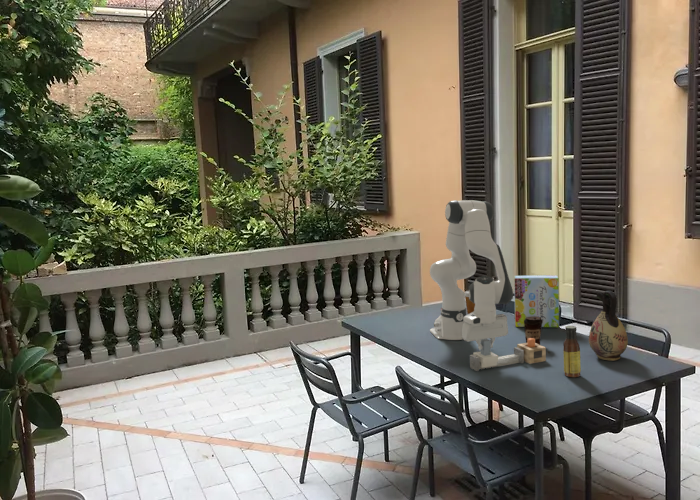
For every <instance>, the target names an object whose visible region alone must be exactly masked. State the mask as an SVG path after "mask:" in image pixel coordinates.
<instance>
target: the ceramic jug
mask: <svg viewBox="0 0 700 500" xmlns="http://www.w3.org/2000/svg"><path fill="white" fill-rule="evenodd" d="M596 298H597V299H599V300H600V301H601V302H602V309H601V311H600V313H599V314H598V315H597V316H596V319H595V320H594V321H593V323H592V325H591V327H590V330H589V332H588V333H589V334H588V343H589V344H588V345H589V347H590V348H591V350H592V351H593V352H594V353H595V355H596V357H597V358H598V359H600V360H603V361H604V360H605V361H618V360H620V359H621V355H622V354H623V353H624V352H625V351H626V350H627V348H628V342H629V340H628V334H627V329H625V326H624V324H623V323H622V321H621V320H620V319H619V317H618V316H617V315H616V312H617V305H618V303H617V302H618V301H617V299H618V298H617V295H616V294H615V292H613V290H605V291H604V293H603V292H601V291H598V292H597V293H596Z"/></svg>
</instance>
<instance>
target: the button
mask: <svg viewBox="0 0 700 500" xmlns="http://www.w3.org/2000/svg"><path fill="white" fill-rule="evenodd" d="M527 347H530V348H532V347H535V339H534V338H528V339H527Z"/></svg>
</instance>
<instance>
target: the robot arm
mask: <svg viewBox="0 0 700 500" xmlns="http://www.w3.org/2000/svg"><path fill="white" fill-rule="evenodd" d="M444 210H445V211H444V213H445V214H444V215H445V220H447V222H448V227H447V233H446V238H445V247H446V249H447V250H449V251H450V252H451V256H450V258H445V259H441V260H438V261H435V262H433V263H432V264H431V265H430V267H429V274H430V275H429V276H430V278H431V280H432V281H434V282H435V283H436V284H437V286H438V287H439V288H440V291H441V299H442V302H441V304H442V307H441V308H440V315H439V316H438V317H437V318H435V320H434V323H433V327H432V328H430V329H429V332H430V333H431V334H432V335H433V336H434V337H435V338H436V339H437V340H449V341H460V340H464V341H465V342H468V343H469V342H474V341H475V342H476V344H477V347H478V350H479V351H481V350H482V349H483V345H482V344H481V343H480V342H481V340H482V339H488V340H490V341H491V349H492V348H494V347H493V345H494V343H495V341H496V338H499V337H505V336H507V335H509V326H508V317H507V315H506V314H504V313H499V314H497V307H496V304H498V305H507V304H509V303H510V302H511V301H512V300H513V298H514V289H513V286H512V283H511V280H510V278H509V273H508V270H507V266H506V263H505V259H504V255H503V252H502V249H501V247H500V245H499V244H497V243H495V241H494V239H493V238H492V233H491V224H490V222H491V221H492V220H493V218H494V207H493V204H492V203H491V202H488V201H485V200H482V201H481V200H476V199H475V200H473V199H469V200H468V199H467V200H466V199H463V200H451V201H450V200H449V201H448V202H447V204H446V207H445V209H444ZM470 252H471V253H473V254H475V255H477V256H480V257H484V258H486V259H489V260H490V261H492V263H493V264H494V267H495V271H496V276H497V279H498V280H494V278H493V277H491V276H479V277H476V279H475V280H474V281H473V282H472V283H470V284H469V286H468V291H469V300H470V301H471V302H473V303H475V307H474V311H473V312H472V313H470V314H468V313H467V307H466V299H465V291H464V290H463V289H462V288H460V287H459V286H458V281H460V280H465V279H468V278H470V277H472V276H474V275H475V273H476V271H477V263H476V261H475V260H474V259H473V258H472V257H471V254H470Z"/></svg>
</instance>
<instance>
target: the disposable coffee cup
mask: <svg viewBox="0 0 700 500" xmlns="http://www.w3.org/2000/svg"><path fill="white" fill-rule="evenodd" d="M464 293H465V307H466V311H467V312H466V314H467V315H468V314H470V313H472V312H473V311H474V307H475V303H473V302H471V301H470V300H469V290H466V291H464Z"/></svg>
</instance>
